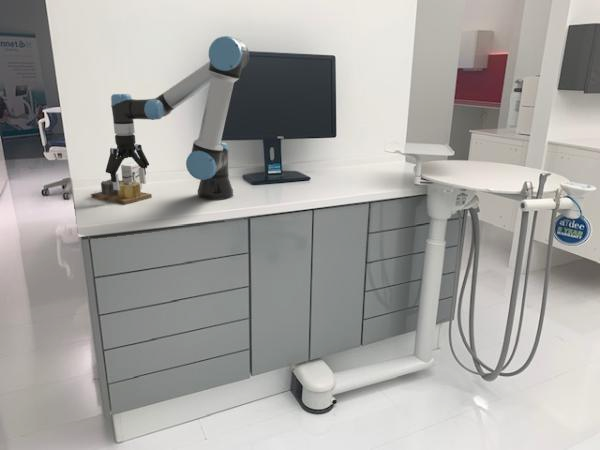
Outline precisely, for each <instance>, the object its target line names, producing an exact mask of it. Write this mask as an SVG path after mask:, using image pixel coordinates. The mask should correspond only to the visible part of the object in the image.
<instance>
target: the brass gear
mask: <svg viewBox="0 0 600 450" xmlns="http://www.w3.org/2000/svg"><path fill="white" fill-rule="evenodd" d="M119 187H120V190H118V197H120V198H134V197H135V198H136V197H139V196H141V192H142V191H141V188H140V183H138V182H132V185H126V182H121V183H120V184H119Z"/></svg>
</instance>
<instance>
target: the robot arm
mask: <svg viewBox="0 0 600 450" xmlns="http://www.w3.org/2000/svg"><path fill="white" fill-rule="evenodd" d="M208 59H209V61H208V62H206V63H205V64H203V65H202V66H201V67H199V68H197V69H196V70H195V71H193V72H192V73H191V74H188V76H186V77H185V78H183V79H182V80H180V81H179V82H177V83H176V84H174V85H172V86H171V87H170V88H169V89H167V90H165V91H164V92H163V93H162V94H160V95H158V96H156V97H155V98H148V99H147V98H145V99H133V98H132V95H131V94H130V93H113V94H112V95H111V96H110V99H111V100H110V101H111V105H110V107H111V112H112V120H113V130H114V134H115V135H114V140H115V141H114V142H115V145H116V148H114V147H110V149H109V157H108V161H107V164H106V169H105V173H106V174H110V179H111V181H112V182H113V189H114V190H120V187H119V180H120V179H119V173H117V172H118V171H119V168H121V167H120V166H122V162H123V161H124V160H126V159H128V158H131V159H133V162H134V163H137V164H138V165H139V166H140V167H141V168H138V169H139V179H140V183H142V185H145V184H147V181H146V174H147V172H146V169H147V168H148V166H150V163H149V160H148V159H147V157H146V155H145V153H144V151H143V148H142V144H137V143H136V135H135V133H136V131H135V124H134V123H135V122H134V120H151V121H155V120H161V119H162V118H164V117H167V116H168V115H170V114H171V113H172V111H174V110H175V109H176V108H178V107H179V106H181V105H182V104H184V103H185V102H187V101H188V100H190V99H192V98H193V97H194V96H196V95H197V94H199V93H200V92H201V91H203V90H205V89H207V88H208V87H209V88H208V89H207V90H208V91H207V97H206V101H205V105H204V111H203V115H202V120H201V123H200V124H201V125H200V129H199V135H198V137H197V138H196V139H195V140H194V141H193V143H192V144H193V145H192V148H191V152H190V153H189V154H188V156H187V157H186V161H185V162H186V163H185V165H186V169H187V172H188V173H189V174H190V176H192V177H193V179H197V180H200V181H199V184H198V189H197V197H198V198H201V199H205V200H224V199H229V198H232V197H233V196H234V189H233V187H232V184H231V181H230V177H229V175H230V174H229V173H230V172H229V147H228V144H227V142H221V141H222V139H223V133H224V129H225V125H226V121H227V120H226V119H227V115H228V111H229V107H230V102H231V97H232V93H233V88H234V84H235V82H237V81H238V80H240V76H241V72H242V70H243V68H245V67H246V66H247V64H248V63H249V59H250V51H249V48H248V46H247V45H246V44H245V42H243V41H242V40H241V39H238V38H235V37H233V36H228V35H226V36H225V35H223V36H220V37H219V36H218V37H217V38H215V39H214V40H213V41H212V42H211V44H210V46H209V49H208Z"/></svg>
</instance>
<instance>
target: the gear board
mask: <svg viewBox="0 0 600 450" xmlns="http://www.w3.org/2000/svg"><path fill="white" fill-rule="evenodd" d="M121 182H124V181H122V180H120V179H119V184H120V183H121ZM126 185H132V182H126ZM100 187H101V191H99V192H94V193H91V194H90V195H91V198H92V199H95V200H96V199H97V200H101V201H105V202H111V203H116V204H120V205H129V204H133V203H137V202H140V201H145V200H148V199H151V198H152V195H153V194H152V193H148V192H142V191H141V196H139V197H136V198H135V197H134V198H120V197H118V190H114V189H113V182H112V181H111V178H110V179H107V180H103V181H101V183H100Z"/></svg>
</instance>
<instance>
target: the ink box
mask: <svg viewBox="0 0 600 450" xmlns="http://www.w3.org/2000/svg"><path fill="white" fill-rule="evenodd" d="M120 166H121V167H120V169H121V178H122V179H121V181H124V182H138V183H140V179H139V169H138V168H141V167H140V166H139V165H138V164H137V163H136V162H135V161H133V162H127V163H124V164H121V165H120ZM140 188H141V189H143V184H142V183H140Z"/></svg>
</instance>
